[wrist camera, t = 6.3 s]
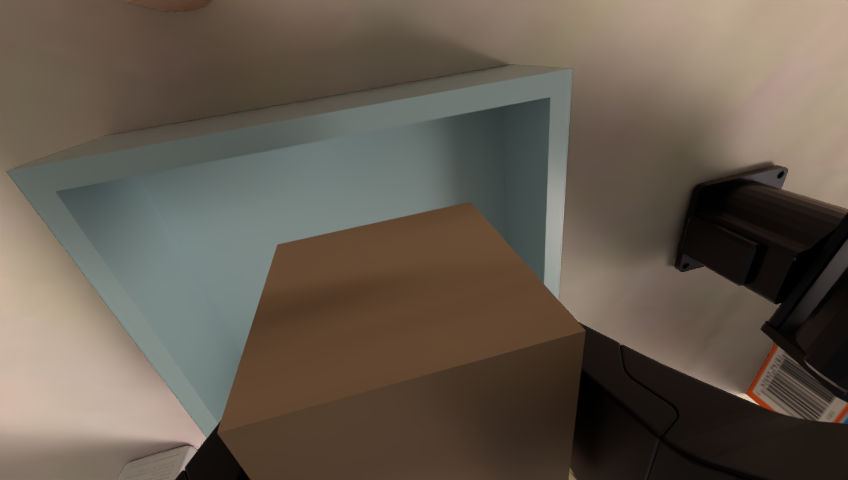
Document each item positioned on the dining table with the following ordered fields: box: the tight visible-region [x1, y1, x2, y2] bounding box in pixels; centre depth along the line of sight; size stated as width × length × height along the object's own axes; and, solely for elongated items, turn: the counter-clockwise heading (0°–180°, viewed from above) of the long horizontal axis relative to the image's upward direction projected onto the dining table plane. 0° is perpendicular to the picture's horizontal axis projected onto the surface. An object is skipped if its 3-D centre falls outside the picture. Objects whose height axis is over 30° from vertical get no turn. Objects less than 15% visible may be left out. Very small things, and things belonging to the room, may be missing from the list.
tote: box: [6, 65, 573, 438], centre depth 17 cm, size 18×16×5 cm
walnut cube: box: [217, 202, 586, 480], centre depth 8 cm, size 5×5×5 cm
